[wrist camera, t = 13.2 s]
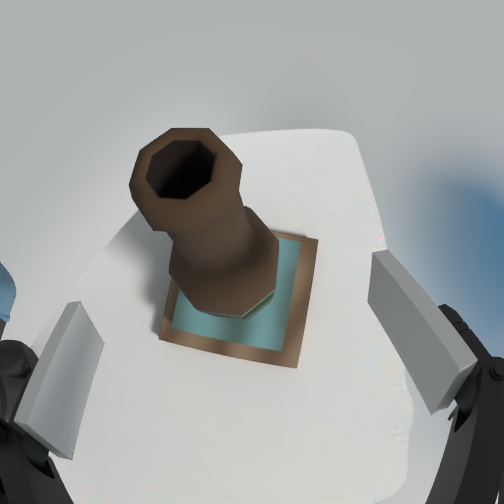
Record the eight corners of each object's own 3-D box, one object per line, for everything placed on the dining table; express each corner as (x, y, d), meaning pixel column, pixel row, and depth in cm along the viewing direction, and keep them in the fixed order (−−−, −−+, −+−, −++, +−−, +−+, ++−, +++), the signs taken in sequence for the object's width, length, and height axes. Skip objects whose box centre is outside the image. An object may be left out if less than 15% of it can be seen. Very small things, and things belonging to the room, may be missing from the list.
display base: (162, 338, 36) (146, 339, 30) (189, 221, 39) (179, 204, 34) (295, 367, 34) (301, 373, 29) (316, 243, 38) (324, 229, 33)
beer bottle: (212, 330, 30) (80, 326, 7) (194, 261, 32) (72, 121, 9) (284, 310, 31) (353, 250, 7) (262, 242, 33) (264, 59, 9)
